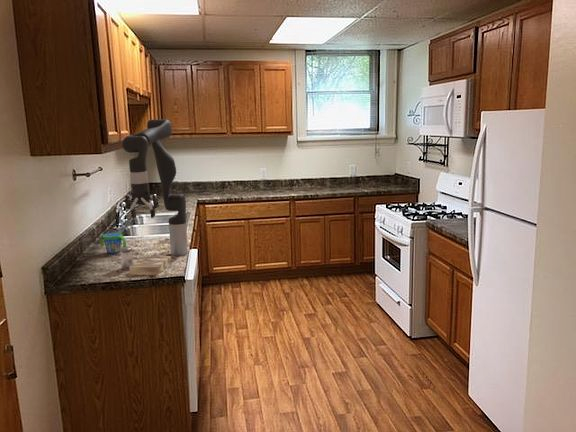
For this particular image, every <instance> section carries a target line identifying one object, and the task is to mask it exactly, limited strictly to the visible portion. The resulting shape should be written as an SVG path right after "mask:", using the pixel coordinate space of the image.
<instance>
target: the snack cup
mask: <svg viewBox="0 0 576 432" xmlns="http://www.w3.org/2000/svg"><path fill="white" fill-rule="evenodd" d="M122 242H123V243H122ZM104 245H105V246H104ZM100 246H101V247H103V246H104V247H105V250H106V253H107V254H118V253H121V252H120V248H124V247H127V241H126V239H125V237H124V236H123V233H120V232H112V233H111V232H109V233H105V234H103V235H102V236H101V238H100Z"/></svg>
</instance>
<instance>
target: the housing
mask: <svg viewBox="0 0 576 432" xmlns="http://www.w3.org/2000/svg"><path fill="white" fill-rule="evenodd" d="M132 252H133V247H130V246H126V247H121V248H120V252H119V253H120V259H121V261H120V262H121V269H122V270H130V268H129V267H130V266H131V265H132V264H134V263H133V262H134V261H133V253H132Z"/></svg>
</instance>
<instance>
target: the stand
mask: <svg viewBox="0 0 576 432" xmlns="http://www.w3.org/2000/svg"><path fill="white" fill-rule="evenodd" d="M171 264H172V255H171V256H169V255H168V256H167V255H165V256H160V255H159V256H157V255H156V256H155V255H153V256H152V255H151V256H149V255H148V256H142V257H141V258H140V259H138V260H137V261H135V262H134V263H133V264H132V265H131V266H130V267H129V268H130V269H129V275H131V276H137V275H138V276H140V275H141V276H142V275H143V276H147V275H149V276H150V275H151V276H159V275H161V274H162V273H163V272H164V271H165V270H166V269H167V268H168V267H170V266H171Z"/></svg>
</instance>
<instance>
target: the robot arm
mask: <svg viewBox="0 0 576 432" xmlns="http://www.w3.org/2000/svg"><path fill="white" fill-rule="evenodd" d="M146 128H147V129H143V130H141V131H140V132H137V133H134V134H130V135H129V134H128V135H127V136H124V138H123V140H122V148H123V150H124V151H125V152H127V153H138V154H137V156H136V157H133V158H130V159H129V160H128V161H129V162H128V164H129V177H130V180H129V181H130V187H131V189H130V190H131V195H130V194H127V195H125V198H124V199H125V209H127V210H129V211H130V213H131V214H130V216H131V218H133V219H136V218H137V213H136V212H137V211H136V207H137V206H140V205H142V206H145V205H146V207H148V208H149V212H150V218H151V219H154V218H155V216H156V209H157V208H159V199H158V195H157V194H156V193H154V194H151V193H150V182H149V175H148V170H147V154H148V149H149V146H151V147H152V150H153V154H154V158H155V163H156V168H157V169H156V170H157V173H158V177H159V181H160V185H161V190H162V198H163V203H164V204H163V205H164V208H165V210H166V211H168V212H177V214H176V215H174V216H171V217H169V218H168V229H169V245H170V255H171V256H177V257H178V256H184V255H187V254H189V248H188V233H187V231H188V230H187V202H186V201H187V199H186V196H185V195H184V194H182V193H171V187H172V184H173V181H175V180H174V179H176V175H177V167H176V163H175V160H174V158H173V156H172V155H171V153H169V151H167V150H166V149H165V147H164V145H162V143H161V140H162V139H167V138H169V137H171V135H172V133H173V126H172V123H171V121H170V120H169V119H165V118H162V119H159V118H158V119H149V120H148V121H147V124H146ZM131 200H133V202H132V203H131ZM151 200H152V201H151Z"/></svg>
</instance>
